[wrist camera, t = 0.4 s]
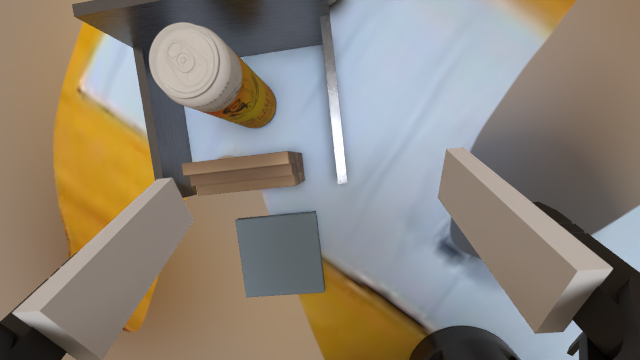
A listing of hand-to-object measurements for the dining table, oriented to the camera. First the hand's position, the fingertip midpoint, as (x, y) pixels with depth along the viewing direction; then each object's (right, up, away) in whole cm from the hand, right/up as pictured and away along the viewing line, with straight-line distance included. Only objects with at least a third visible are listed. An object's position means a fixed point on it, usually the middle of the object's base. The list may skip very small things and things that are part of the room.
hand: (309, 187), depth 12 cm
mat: (-5, -10, +22) cm, 24 cm away
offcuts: (-7, +2, +21) cm, 22 cm away
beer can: (-8, +10, +21) cm, 24 cm away
